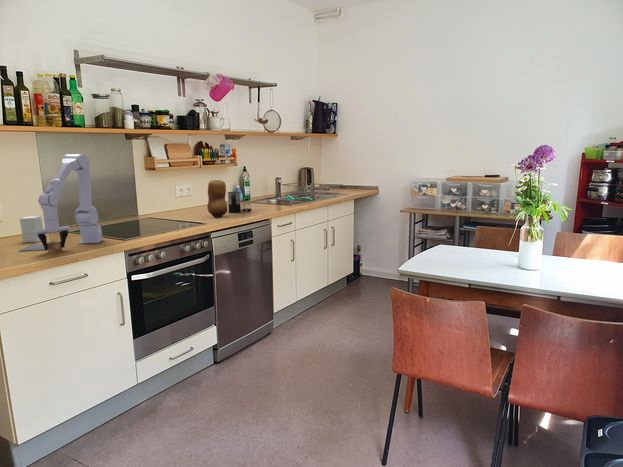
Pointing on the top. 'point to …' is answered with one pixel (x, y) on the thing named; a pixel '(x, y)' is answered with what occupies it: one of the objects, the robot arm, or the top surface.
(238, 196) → the milk frother
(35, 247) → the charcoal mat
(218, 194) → the butternut squash
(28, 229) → the supplement box
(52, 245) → the oak cube
